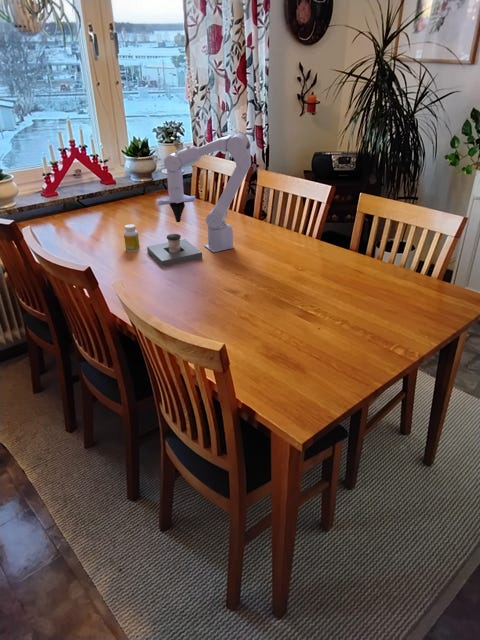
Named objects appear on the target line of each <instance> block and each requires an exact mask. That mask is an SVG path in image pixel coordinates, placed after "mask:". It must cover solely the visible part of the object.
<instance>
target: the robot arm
mask: <svg viewBox="0 0 480 640" xmlns="http://www.w3.org/2000/svg"><path fill="white" fill-rule="evenodd" d="M251 146H252V144H251V142H250V140H249V137H248V136H247V135H246V134H245V133H243V132H236V133H235V134H234V135H233V134H229V135H225V136H222V137H219V138H218V139H215V140H213V141H210V142H208V143H206V144H204V145H202V146H201V145H200V146H199V147H198V146H196V145H190V144H188V145H187V146H185V148H183V149H181V150H175V151H174V152H173V153H170V154H169V155H168V156H166V157H165V159H164V161H163V165H164V168H165V169H166V175H167V176H166V179H167V189H168V197H164V198H157V200H156V201H157V205H158V207H160V206H162V205H163V206H165V205H169V206H170V208H171V211H172V212H173V215H174V218H175V221H176V223H180V222H181V218H182V215H183V212H184V210H185V206H186V205H185V203H196V201H197V200H196V196H195V195H185V193H184V180H183V178H184V177H183V168H184V167H188V166H190V165H192V164H195V163H198V162H199V161H201V158H202V157H204V156H206V155H209V154H212V153H214V152H218V151H221V152H224V153H227V152H228V154H230V156H231V157H232V158H233V160H234V163H235V168H234V170H233V172H232V174H231V176H230V177H229V180H228V181H227V183H226V184H225V187H224V188H223V191H222V193H221V195H220V197H219V199H218V200H217V202H216V204H215V206H214V207H213V208H211V209H212V210H211V211H210V212H209V213H208V214H207V216H206V218H205V223H206V226H207V244H204V247H205V248H206V249H208V250H209V251H210V252H212V253H217V252H221V251H225V250H230V249H234V248H235V247H234V230H233V227H232V225H231V224H229V223H226V221H225V220H226V219H227V217H228V210H229V208H230V205H231V204H232V201H233V200H234V198H235V196H236V194H237V192H238V191H239V188H240V187H241V185H242V183H243V181H244V180H245V178H246V175H247V173H248V172H249V170H250V168H251V165H252V159H251V158H252V155H251V154H252V153H251Z"/></svg>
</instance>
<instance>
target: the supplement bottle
mask: <svg viewBox="0 0 480 640" xmlns="http://www.w3.org/2000/svg"><path fill="white" fill-rule="evenodd" d="M124 230H125V231H124V232H123V239H124V244H125V251H126V252H131V253H132V252H134V253H135V252H137V251H139V250H140V240H139V239H140V238H139V234H138V233H139V231H138V230H136V224H132V223H131V224H125V225H124Z"/></svg>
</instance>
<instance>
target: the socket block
mask: <svg viewBox="0 0 480 640" xmlns="http://www.w3.org/2000/svg"><path fill="white" fill-rule="evenodd" d="M180 249H181V252H176V253H171V254H169V245H168V242H163V243H158V244H153V245H148V246H146V250H147V254H149V255H150V256H151V257H152V258H153V260H154V261H156V262H157V264H159V266H161V267H162V268H166V267H171V266H175V265H179V264H183V263H189V262H194V261H198V260H203V252H202V251H200V250H199V249H198V248H197V247H196V246H194V244H192V243H191V242H190V241H188V240H187V239H186V238H184V239H180Z"/></svg>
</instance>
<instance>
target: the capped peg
mask: <svg viewBox="0 0 480 640" xmlns="http://www.w3.org/2000/svg"><path fill="white" fill-rule="evenodd" d="M166 240H167V243H168V245H169V254H171V253H176V252H181V249H180V240H181V234H178V233H170V234H168V235H166Z"/></svg>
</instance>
